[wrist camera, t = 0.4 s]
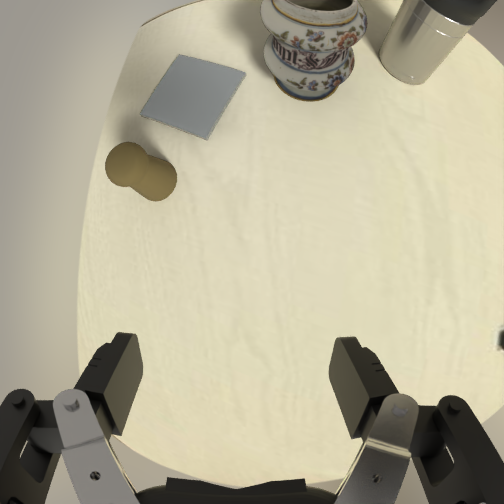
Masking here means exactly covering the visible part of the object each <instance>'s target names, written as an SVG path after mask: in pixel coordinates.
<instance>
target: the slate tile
mask: <svg viewBox="0 0 504 504" xmlns="http://www.w3.org/2000/svg"><path fill="white" fill-rule="evenodd" d="M245 76H246V73H245V72H242V71H239V70H236V69H233V68H229V67H226V66H223V65H219V64H216V63H212V62H208V61H204V60H201V59H197V58H193V57H188V56H184V55H180V54H179V55H178V57H177V58H176V60H175V61H174V62H173V64H172V65H171V67H170V68H169V69H168V71H167V72H166V74H165V75H164V77H163V78H162V80H161V81H160V83H159V84H158V86H157V87H156V89H155V90H154V92H153V93H152V95H151V97H150V98H149V100H148V101H147V103H146V105H145V106H144V108H143V110H142V111H141V113H140V115H141V116H143V117H146V118H148V119H151V120H154V121H157V122H160V123H163V124H165V125H168V126H171V127H173V128H176V129H179V130H181V131H184V132H187V133H189V134H192V135H194V136H197V137H199V138H202V139H205V140H208V138H209V136H210V134H211V133H212V131H213V129H214V127H215V126H216V124H217V122H218V121H219V119H220V117H221V115H222V114H223V112H224V110H225V109H226V107H227V105H228V104H229V102H230V100H231V99H232V97H233V95H234V94H235V92H236V91H237V89H238V87H239V86H240V84H241V83H242V81H243V79H244V78H245Z"/></svg>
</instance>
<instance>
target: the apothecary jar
mask: <svg viewBox="0 0 504 504" xmlns="http://www.w3.org/2000/svg"><path fill="white" fill-rule="evenodd" d="M260 14H261V18H262V21H263V23H264V25H265V27H266V28H267V29H268V31H269V32H270V33H271V35H270V36H269V38H268V39H267V41H266V43H265V46H264V59H265V62H266V65H267V66H268V68H269V70H270V71H271V72H272V73H273V75H274V79H275V82H276V84H277V85H278V87H279V88H280V89H281V90H282V91H283V92H284V93H285V94H287V95H288V96H290V97H292V98H294V99H297V100H302V101H319V100H323V99H325V98H327V97H329V96H331V95H332V94H333V93H334V92H335V91H336V90H337V88H338V86H339V84H341V83H342V82H344V81H345V80H346V79H347V78H348V77H349V75H350V74H351V72H352V70H353V67H354V53H353V50H352V47H351V46H352V45H354V44H355V43H357V42H358V41H359V40H360V39H361V38H362V37H363V35H364V33H365V31H366V28H367V18H366V14H365V12H364V10H363V8H362V6H361V5H360V3H359V2H358V0H263V1H262V4H261V8H260Z"/></svg>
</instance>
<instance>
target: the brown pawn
mask: <svg viewBox="0 0 504 504" xmlns="http://www.w3.org/2000/svg"><path fill="white" fill-rule="evenodd" d="M105 170H106V174H107V176H108V178H109V179H110V181H111V182H113V183H114V184H116V185H118V186H122V187H128V186H130V187H131V188H133V189H134V190H135V191H137V192H138V193H139V194H141V195H142V196H144V197H145V198H147V199H148V200H151V201H161V200H163V199H165V198H167V197H168V196H169V195H170V194H171V193H172V192H173V190H174V188H175V186H176V182H177V173H176V171H175V168H174V167H173V166H172V165H171V164H170V163H169V162H167V161H164V160H162V159H159V158H156V157H153V156H150V155H147V154H146V152H145V150H144V149H143V148H142V147H141V146H140V145H138V144H136V143H132V142H124V143H121V144H119V145H117V146H116V147H114V148H113V149H112V150H111V151H110V153H109V155H108V156H107V159H106V162H105Z"/></svg>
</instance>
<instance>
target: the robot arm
mask: <svg viewBox="0 0 504 504" xmlns="http://www.w3.org/2000/svg"><path fill="white" fill-rule="evenodd" d="M496 1H497V0H403V2H402V4H401V7H400V9H399V11H398V13H397V15H396V17H395V19H394V21H393V23H392V26H391V28H390V30H389V32H388V34H387V36H386V38H385V40H384V42H383V44H382V46H381V49H380V51H379V56H380V60H381V62H382V64H383V66H384V67H385V68H386V70H387V71H388V72H389V73H390V74H392V75H393V76H394V77H396V78H397V79H399V80H401V81H403V82H405V83H408V84H413V85H418V84H422V83H424V82H425V81H426V80H427V79H428V78H429V77H430V76H431V74H432V73H433V72H434V71H435V70H436V69H437V68H438V66H439V65H440V64H441V63H442V62H443V61H444V59H445V58H446V57H447V56H448V55H449V53H450V52H451V51H452V50H453V49H454V48H455V46H456V45H457V44H458V43H459V42H460V40H461V39H462V38H463V37H464V36H465V34H466V33H467V32H468V30H469V29H470V28H471V27H472V26H473V24H474V23H475V22H476V21H477V20H478V19H479V18H480V17H482V16H483V15H484V14H485V13H486V12H487V11H488V10H489V9H490V8H491V6H492V5H493V4H494V3H495V2H496ZM142 375H143V362H142V357H141V353H140V348H139V343H138V338H137V335H136V334H132V333H122V332H118V333H117V334H116V335H115V337H114V339H113V340H112V342H111V343H105V344H104V345H102V346H101V347H100V348H98V349H97V351H96V352H95V354H94V355H93V357H92V359H91V360H90V362H89V363H88V366H87V367H86V368H85V370H84V372H83V373H82V375H81V377H80V378H79V380H78V382H77V384H76V385H75V387H74V389H68V390H65V391H62V392H61V393H59V394H58V395H57V396H56V397H55V399H54V400H48V401H47V400H43V401H42V400H35V398H34V396H33V394H32V393H31V392H30V391H28V390H26V389H17V390H14V391H12V392H11V393H9V394H8V395H7V396H6V398H5V400H4V401H3V402H2V404H1V406H0V504H45V500H46V497H47V494H48V491H49V487H50V484H51V481H52V478H53V475H54V472H55V469H56V466H57V463H58V461H59V458H60V455H61V454H62V456H63V459H64V462H65V465H66V468H67V471H68V473H69V476H70V479H71V481H72V484H73V487H74V489H75V491H76V494H77V496H78V499H79V501H80V503H81V504H394V503H395V501H396V498H397V495H398V493H399V490H400V488H401V485H402V482H403V479H404V477H405V474H406V471H407V467H408V465H409V461H410V458H412V460H413V463H414V465H415V468H416V470H417V473H418V475H419V478H420V480H421V483H422V486H423V488H424V491H425V494H426V497H427V499H428V502H429V504H504V463H503V461H502V459H501V457H500V455H499V454H498V452H497V450H496V449H495V447H494V445H493V444H492V442H491V440H490V438H489V437H488V435H487V434H486V432H485V431H484V429H483V427H482V426H481V424H480V422H479V421H478V419H477V418H476V416H475V415H474V413H473V411H472V410H471V408H470V407H469V405H468V404H467V403H466V401H464V400H463V399H462V398H460V397H458V396H453V395H449V396H445V397H443V398H442V399H441V400H440V401H439V403H438V405H437V406H420V405H418V404H417V402H416V401H415V400H414V399H413V398H412V397H410V396H408V395H405V394H400V393H399V392H398V390H397V388H396V387H395V385H394V383H393V382H392V380H391V378H390V377H389V375H388V373H387V372H386V371H385V369H384V367H383V365H382V364H381V362H380V360H379V359H378V357H377V356H376V354H375V353H373V352H372V351H371V350H370V349H368V348H367V347H364V348H362V347H361V345H360V343H359V342H358V340H357V338H356V337H339V338H336V340H335V344H334V348H333V353H332V357H331V361H330V365H329V379H330V382H331V385H332V387H333V390H334V393H335V395H336V398H337V401H338V404H339V406H340V409H341V412H342V415H343V417H344V420H345V423H346V426H347V428H348V431H349V434H350V437H351V439H355V438H360V437H361V438H362V440H363V443H362V445H361V447H360V449H359V451H358V453H357V455H356V457H355V459H354V461H353V463H352V465H351V467H350V469H349V471H348V473H347V474H346V476H345V478H344V480H343V482H342V483H341V485H340V486H339V488H338V490H337V491H336V493H335V494H333V493H331V492H329V491H326V490H323V489H319V488H315V487H308V486H306V483H305V478H304V479H295V480H283V481H270V482H266V483H263V484H258V485H254V486H250V487H245V488H241V489H232V488H227V487H223V486H219V485H214V484H211V483H207V482H204V481H198V480H187V479H178V478H169V477H167V482H166V485H161V486H156V487H152V488H148V489H145V490H143V491H140V492H137V491H136V489H135V488H134V486H133V484H132V483H131V481H130V480H129V478H128V476H127V474H126V472H125V471H124V469H123V467H122V465H121V463H120V461H119V460H118V458H117V456H116V454H115V452H114V450H113V448H112V446H111V444H110V442H109V439H110V437H111V434H114V435H119V436H121V435H122V432H123V429H124V427H125V424H126V421H127V418H128V415H129V412H130V409H131V406H132V403H133V401H134V398H135V395H136V392H137V390H138V387H139V384H140V381H141V379H142ZM26 440H27V441H28V442H27V444H26V447H25V449H24V451H23V453H22V455H21V458H20V453H21V451H22V449H23V447H24V445H25V442H26ZM446 446H447V447H448V449H449V451H450V453H451V455H452V457H453V459H454V463H453V461H452V459H451V457H450V455H449V453H448V451H447V449H446Z"/></svg>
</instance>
